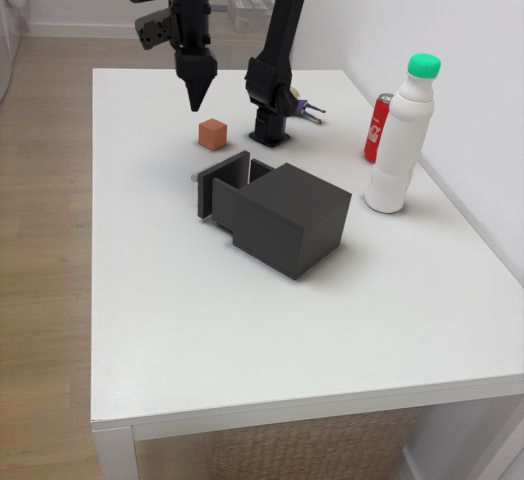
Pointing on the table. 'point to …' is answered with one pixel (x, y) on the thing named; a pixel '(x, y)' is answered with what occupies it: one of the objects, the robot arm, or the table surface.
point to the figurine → (304, 106)
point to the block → (212, 134)
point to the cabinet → (289, 219)
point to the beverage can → (377, 126)
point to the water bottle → (403, 135)
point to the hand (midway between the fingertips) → (191, 99)
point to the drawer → (225, 186)
